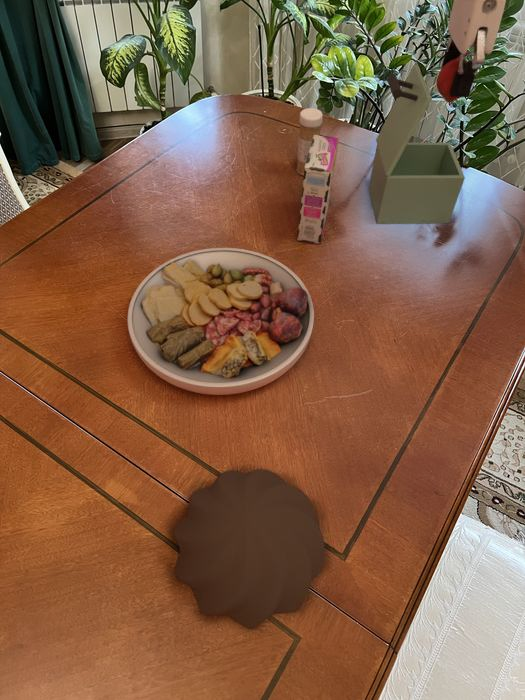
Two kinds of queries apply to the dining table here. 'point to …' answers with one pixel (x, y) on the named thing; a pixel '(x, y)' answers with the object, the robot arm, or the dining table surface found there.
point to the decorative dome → (249, 546)
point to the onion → (447, 79)
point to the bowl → (220, 320)
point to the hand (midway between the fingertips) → (453, 84)
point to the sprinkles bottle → (307, 134)
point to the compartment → (417, 185)
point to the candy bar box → (317, 188)
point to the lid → (402, 116)
